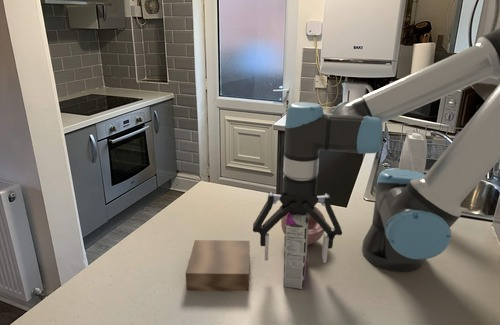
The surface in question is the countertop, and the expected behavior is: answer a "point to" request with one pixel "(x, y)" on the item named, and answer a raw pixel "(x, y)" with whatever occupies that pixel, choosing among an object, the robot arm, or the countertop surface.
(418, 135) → the skyscraper
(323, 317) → the countertop surface
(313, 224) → the mortar and pestle
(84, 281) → the countertop surface
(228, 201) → the countertop surface
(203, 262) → the walnut block
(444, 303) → the countertop surface
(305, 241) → the candy bar box
